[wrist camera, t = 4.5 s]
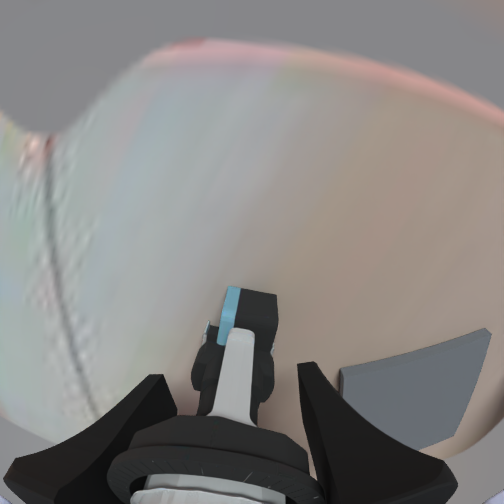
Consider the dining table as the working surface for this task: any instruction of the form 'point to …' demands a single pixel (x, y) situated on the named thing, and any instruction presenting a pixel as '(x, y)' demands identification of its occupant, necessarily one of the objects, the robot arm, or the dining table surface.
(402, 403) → the rubber pad
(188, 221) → the dining table surface
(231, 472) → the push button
